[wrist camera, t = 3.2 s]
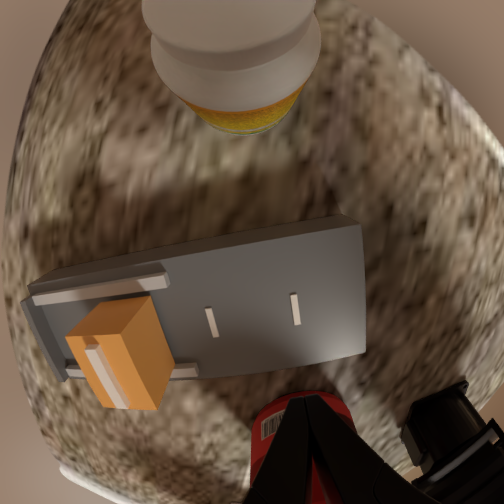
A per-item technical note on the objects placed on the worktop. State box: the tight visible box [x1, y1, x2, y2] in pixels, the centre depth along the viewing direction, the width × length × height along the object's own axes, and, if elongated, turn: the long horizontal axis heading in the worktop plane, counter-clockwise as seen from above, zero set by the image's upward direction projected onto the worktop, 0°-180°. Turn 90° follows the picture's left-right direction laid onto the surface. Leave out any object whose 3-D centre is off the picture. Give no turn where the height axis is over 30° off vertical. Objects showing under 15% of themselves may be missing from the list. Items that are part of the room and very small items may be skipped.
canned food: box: [250, 391, 357, 504], centre depth 14 cm, size 8×8×11 cm
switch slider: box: [65, 296, 175, 410], centre depth 11 cm, size 3×4×4 cm
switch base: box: [20, 214, 366, 382], centre depth 14 cm, size 19×7×4 cm, turn 101°
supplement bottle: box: [142, 0, 321, 135], centre depth 9 cm, size 5×5×10 cm
